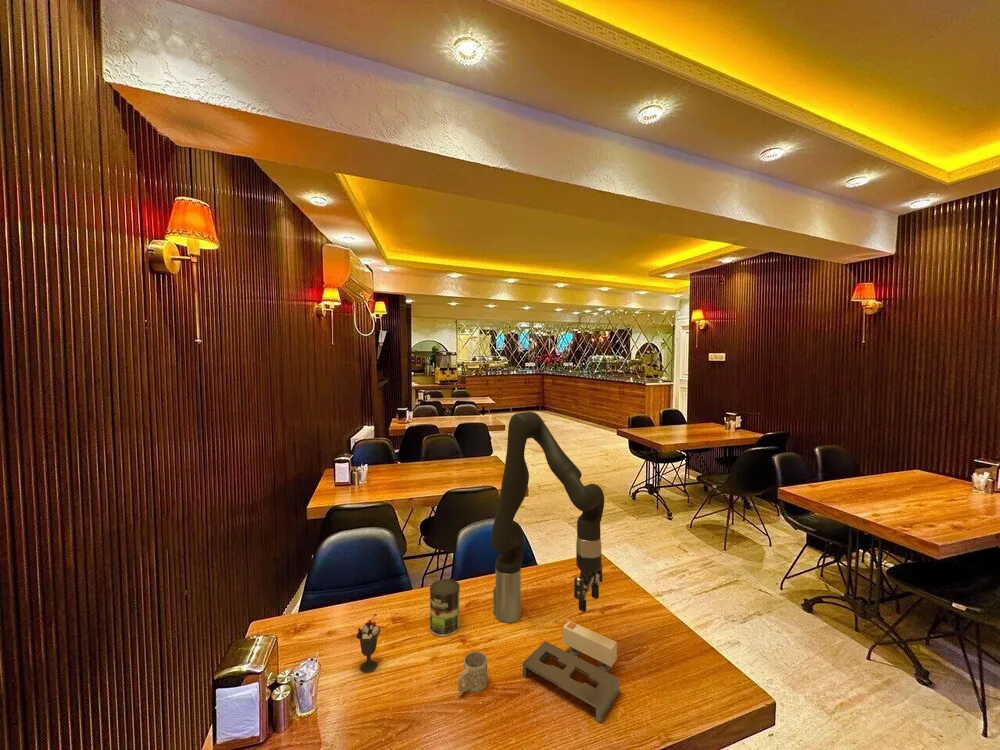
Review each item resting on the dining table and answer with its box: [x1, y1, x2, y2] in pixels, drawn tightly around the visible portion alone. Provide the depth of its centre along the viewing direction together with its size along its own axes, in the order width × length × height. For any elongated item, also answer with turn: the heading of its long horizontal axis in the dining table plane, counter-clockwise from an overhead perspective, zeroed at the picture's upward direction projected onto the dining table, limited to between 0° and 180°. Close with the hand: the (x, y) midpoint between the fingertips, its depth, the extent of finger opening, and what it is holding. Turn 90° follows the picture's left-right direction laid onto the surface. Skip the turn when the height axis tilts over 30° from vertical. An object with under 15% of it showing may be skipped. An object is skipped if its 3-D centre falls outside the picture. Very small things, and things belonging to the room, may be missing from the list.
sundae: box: [356, 613, 381, 674], centre depth 117 cm, size 7×7×15 cm
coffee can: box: [429, 578, 461, 638], centre depth 135 cm, size 10×10×14 cm
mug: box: [457, 650, 488, 694], centre depth 109 cm, size 10×7×7 cm, turn 141°
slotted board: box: [522, 640, 620, 723], centre depth 110 cm, size 24×12×4 cm, turn 51°
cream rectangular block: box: [562, 620, 618, 673], centre depth 119 cm, size 16×4×8 cm, turn 51°
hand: (588, 604), depth 119 cm, fingers open, 8 cm apart
